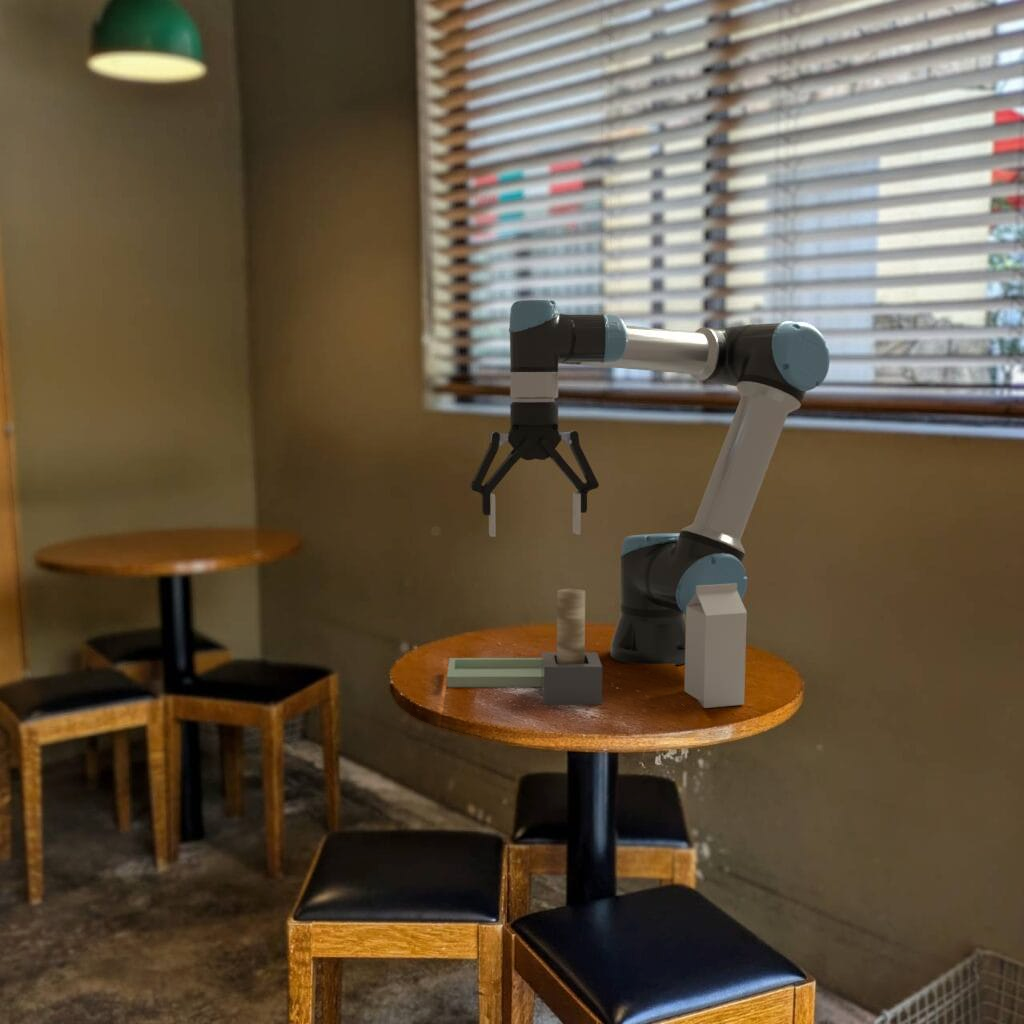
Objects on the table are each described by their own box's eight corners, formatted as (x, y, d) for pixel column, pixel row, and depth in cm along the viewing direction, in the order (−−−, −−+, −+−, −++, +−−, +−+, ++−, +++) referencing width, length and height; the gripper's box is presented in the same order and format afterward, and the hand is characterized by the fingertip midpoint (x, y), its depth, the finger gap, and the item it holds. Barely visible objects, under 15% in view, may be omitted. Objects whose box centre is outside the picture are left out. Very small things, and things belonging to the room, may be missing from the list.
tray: (552, 672, 193) (552, 657, 193) (556, 692, 181) (556, 676, 181) (449, 673, 193) (449, 658, 192) (446, 692, 181) (446, 676, 180)
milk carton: (744, 705, 174) (747, 587, 172) (703, 709, 172) (706, 590, 170) (723, 693, 181) (726, 579, 179) (683, 696, 179) (686, 581, 177)
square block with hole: (596, 694, 180) (596, 652, 179) (601, 710, 171) (602, 666, 170) (541, 694, 180) (541, 652, 179) (544, 710, 171) (544, 667, 170)
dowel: (582, 692, 178) (584, 588, 176) (585, 700, 173) (586, 594, 171) (555, 692, 178) (556, 588, 176) (557, 700, 173) (558, 594, 171)
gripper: (606, 399, 178) (606, 529, 181) (452, 400, 174) (454, 533, 177) (617, 400, 170) (616, 535, 173) (457, 401, 167) (458, 540, 170)
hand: (534, 534), depth 175 cm, fingers open, 13 cm apart
